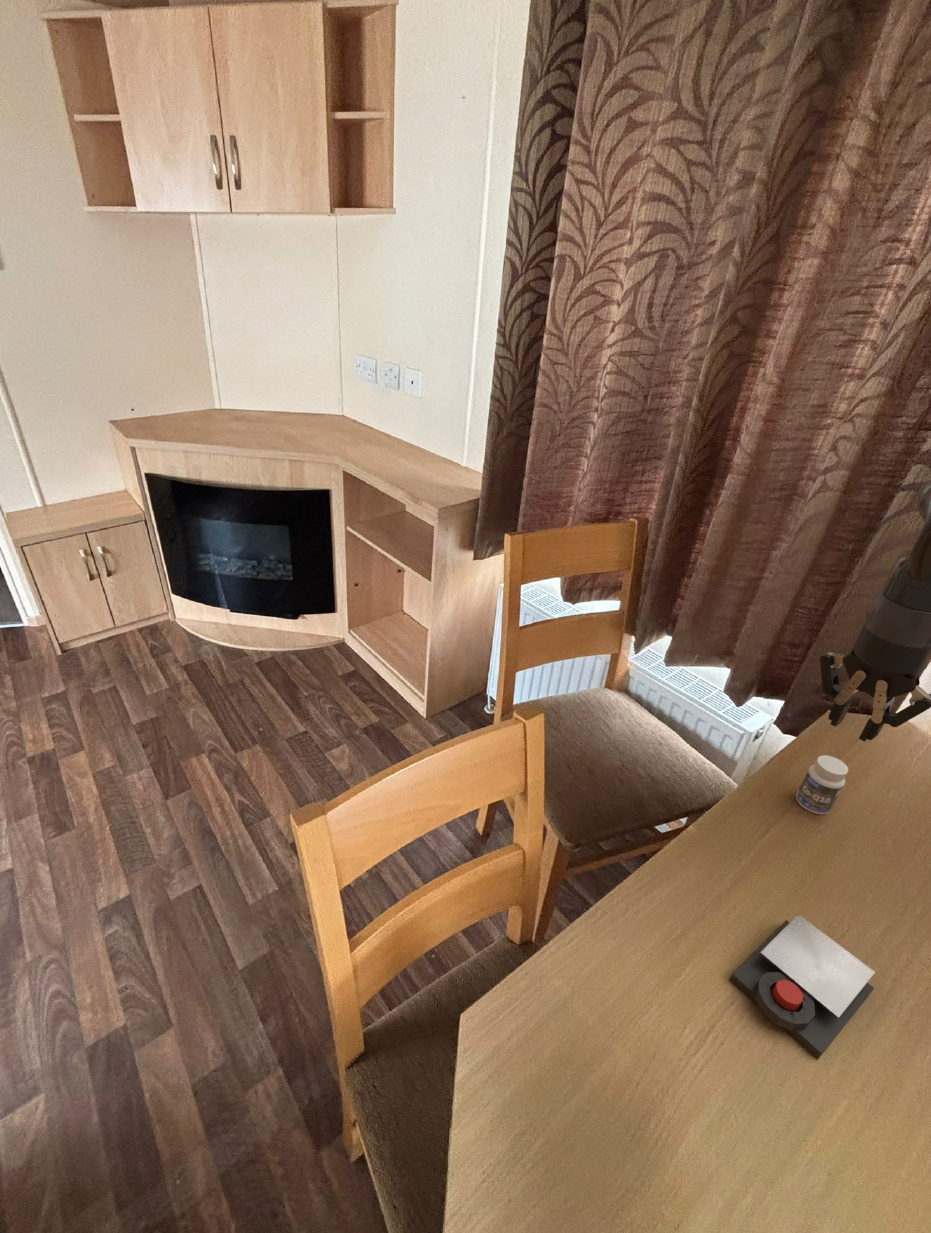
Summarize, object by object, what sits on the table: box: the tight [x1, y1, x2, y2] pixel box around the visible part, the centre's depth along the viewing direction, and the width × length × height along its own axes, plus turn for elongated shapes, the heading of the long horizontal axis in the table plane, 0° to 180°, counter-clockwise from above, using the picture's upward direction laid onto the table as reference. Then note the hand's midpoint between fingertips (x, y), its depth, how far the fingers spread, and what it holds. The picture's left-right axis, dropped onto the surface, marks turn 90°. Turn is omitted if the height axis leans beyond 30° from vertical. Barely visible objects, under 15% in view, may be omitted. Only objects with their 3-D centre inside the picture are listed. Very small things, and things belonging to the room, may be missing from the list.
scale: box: [729, 920, 875, 1060], centre depth 70 cm, size 13×10×3 cm
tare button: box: [772, 980, 803, 1011], centre depth 68 cm, size 3×3×1 cm
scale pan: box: [760, 913, 876, 1019], centre depth 71 cm, size 9×9×1 cm
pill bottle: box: [795, 755, 849, 815], centre depth 93 cm, size 5×5×8 cm
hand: (849, 730), depth 87 cm, fingers open, 3 cm apart
